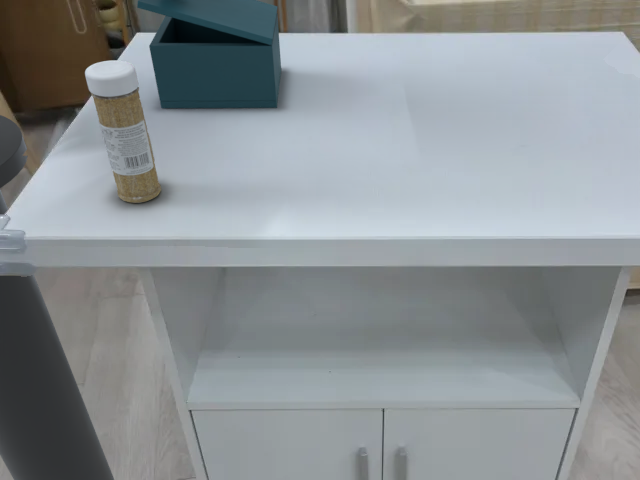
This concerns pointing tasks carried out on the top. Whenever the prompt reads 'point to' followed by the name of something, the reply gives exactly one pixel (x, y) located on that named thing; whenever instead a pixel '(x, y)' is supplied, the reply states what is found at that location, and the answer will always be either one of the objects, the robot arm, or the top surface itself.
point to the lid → (221, 15)
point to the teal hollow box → (214, 67)
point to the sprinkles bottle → (124, 129)
